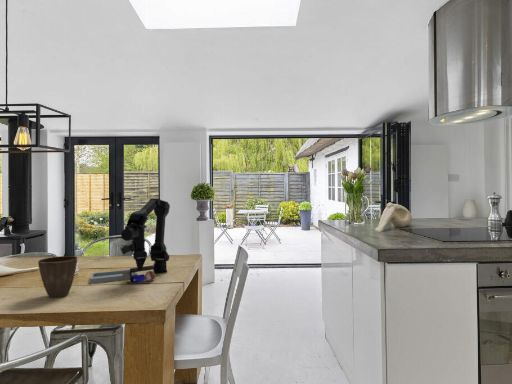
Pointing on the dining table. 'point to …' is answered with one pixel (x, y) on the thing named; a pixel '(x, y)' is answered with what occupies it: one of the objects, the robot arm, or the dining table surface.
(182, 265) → the dining table surface
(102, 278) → the cradle
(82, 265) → the dining table surface
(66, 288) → the plant pot
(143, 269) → the figurine character
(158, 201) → the robot arm
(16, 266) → the dining table surface
